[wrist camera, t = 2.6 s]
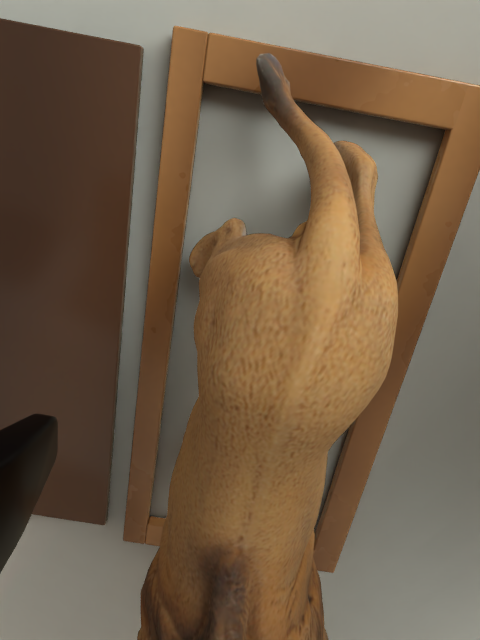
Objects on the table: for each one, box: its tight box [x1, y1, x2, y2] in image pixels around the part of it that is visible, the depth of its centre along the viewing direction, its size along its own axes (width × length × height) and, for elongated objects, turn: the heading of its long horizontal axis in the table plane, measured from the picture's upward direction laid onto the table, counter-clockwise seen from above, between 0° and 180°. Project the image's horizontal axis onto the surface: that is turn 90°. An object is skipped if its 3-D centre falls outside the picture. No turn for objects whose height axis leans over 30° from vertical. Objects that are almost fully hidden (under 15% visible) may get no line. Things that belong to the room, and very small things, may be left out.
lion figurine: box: [137, 53, 398, 640], centre depth 9 cm, size 15×5×9 cm, turn 1°
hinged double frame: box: [0, 18, 480, 573], centre depth 13 cm, size 16×16×1 cm
